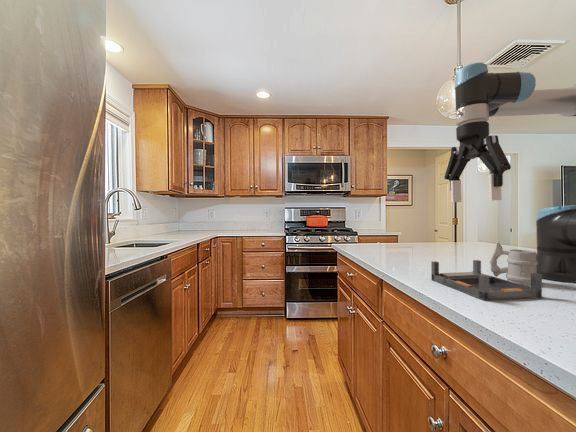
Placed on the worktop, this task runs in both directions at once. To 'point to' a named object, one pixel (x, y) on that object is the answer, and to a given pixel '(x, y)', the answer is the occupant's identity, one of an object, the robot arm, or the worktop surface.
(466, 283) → the tray
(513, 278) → the mug
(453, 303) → the worktop surface
